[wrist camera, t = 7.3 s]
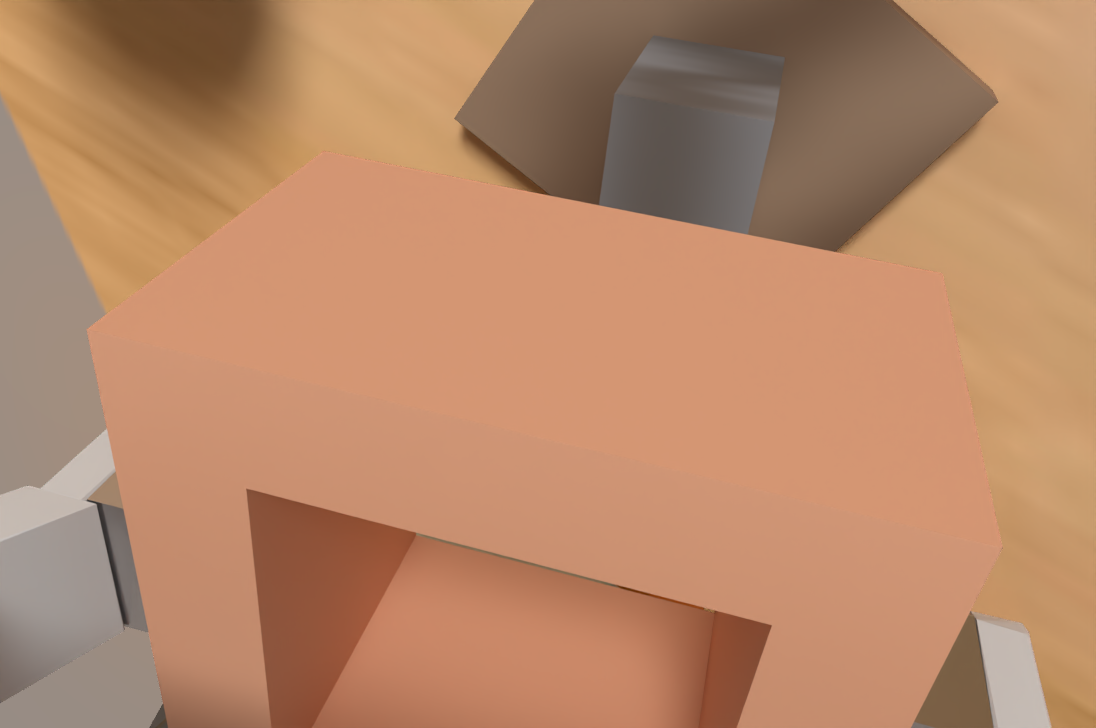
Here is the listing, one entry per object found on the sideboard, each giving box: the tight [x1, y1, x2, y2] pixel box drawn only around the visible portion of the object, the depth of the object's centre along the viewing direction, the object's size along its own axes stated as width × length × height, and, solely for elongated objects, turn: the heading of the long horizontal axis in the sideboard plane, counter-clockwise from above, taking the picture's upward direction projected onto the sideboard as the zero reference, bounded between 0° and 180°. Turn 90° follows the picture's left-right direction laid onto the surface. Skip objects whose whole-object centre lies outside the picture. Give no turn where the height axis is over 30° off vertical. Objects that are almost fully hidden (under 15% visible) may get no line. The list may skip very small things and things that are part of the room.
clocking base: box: [454, 0, 998, 252], centre depth 22 cm, size 10×9×6 cm
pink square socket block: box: [87, 151, 1003, 728], centre depth 10 cm, size 7×7×4 cm
